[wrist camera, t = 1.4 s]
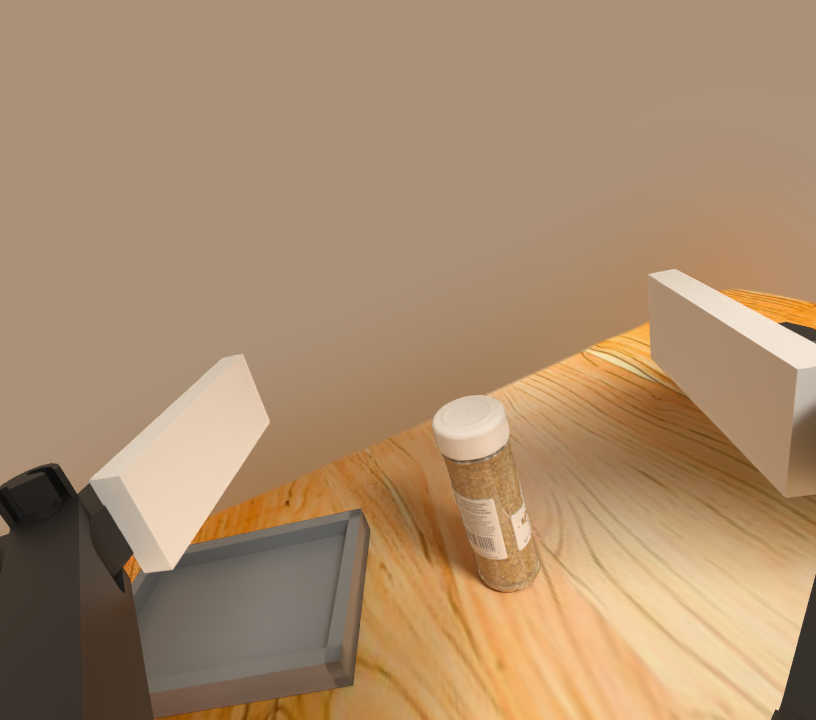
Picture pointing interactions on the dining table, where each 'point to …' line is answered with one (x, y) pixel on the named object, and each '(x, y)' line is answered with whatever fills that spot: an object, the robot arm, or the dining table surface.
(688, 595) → the dining table surface
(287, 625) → the tray
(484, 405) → the sprinkles bottle
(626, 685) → the dining table surface
